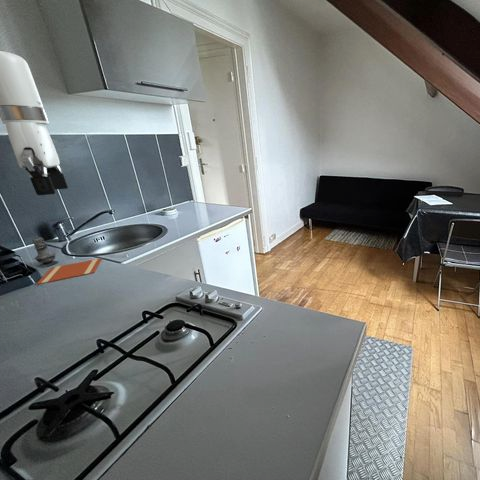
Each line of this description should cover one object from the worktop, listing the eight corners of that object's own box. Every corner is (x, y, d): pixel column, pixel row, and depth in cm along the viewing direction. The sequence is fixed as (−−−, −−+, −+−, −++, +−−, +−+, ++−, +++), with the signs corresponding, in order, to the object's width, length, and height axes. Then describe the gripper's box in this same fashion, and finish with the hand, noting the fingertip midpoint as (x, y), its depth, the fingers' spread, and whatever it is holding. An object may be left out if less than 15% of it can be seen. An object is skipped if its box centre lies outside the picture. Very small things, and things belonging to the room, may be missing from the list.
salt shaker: (48, 267, 98) (35, 237, 94) (33, 267, 98) (19, 238, 94) (63, 260, 103) (51, 232, 99) (49, 261, 104) (36, 232, 99)
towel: (36, 284, 86) (36, 283, 85) (51, 268, 97) (51, 267, 97) (94, 273, 92) (93, 271, 92) (102, 259, 104) (101, 258, 104)
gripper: (19, 120, 65) (46, 188, 71) (-22, 112, 51) (17, 199, 57) (58, 120, 68) (81, 185, 74) (31, 113, 54) (62, 195, 60)
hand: (53, 191), depth 66 cm, fingers open, 9 cm apart
